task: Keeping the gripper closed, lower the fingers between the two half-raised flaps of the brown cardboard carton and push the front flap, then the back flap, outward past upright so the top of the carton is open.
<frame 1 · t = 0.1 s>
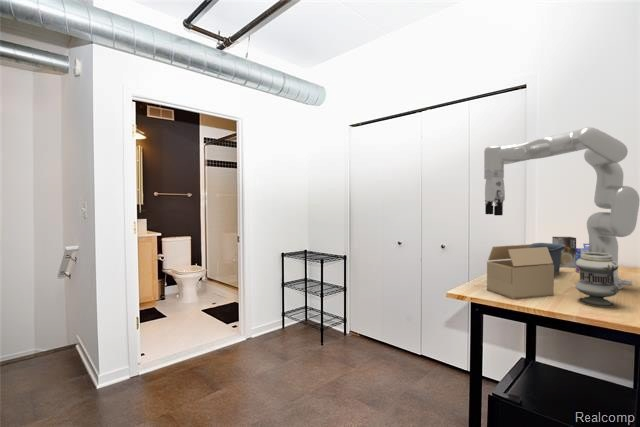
hand: (493, 214, 146), 31 cm above the table, tool pointing down, fingers open, 9 cm apart
ink cartridge box: (588, 273, 169), on the table
apothecary jar: (596, 303, 122), on the table
back flap: (509, 252, 142), point 16 cm above the table, hinge at 65.0°
carton: (519, 292, 137), on the table
front flap: (530, 256, 131), point 16 cm above the table, hinge at 65.0°
coffee box: (563, 266, 186), on the table
storage bin: (541, 274, 169), on the table
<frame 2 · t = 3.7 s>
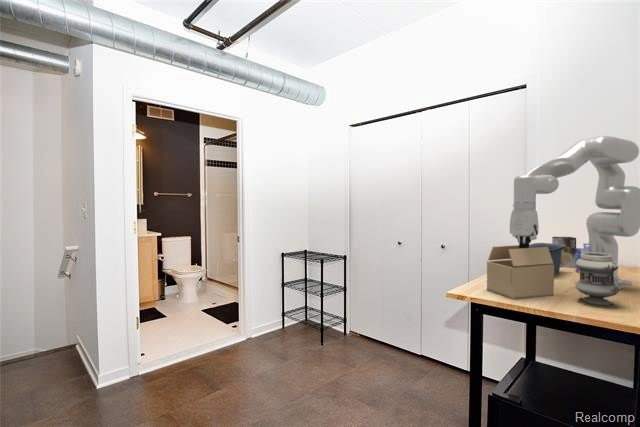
hand: (524, 252, 134), 16 cm above the table, tool pointing down, fingers closed
front flap: (530, 256, 131), point 16 cm above the table, hinge at 68.0°, touching gripper
everything else where it was.
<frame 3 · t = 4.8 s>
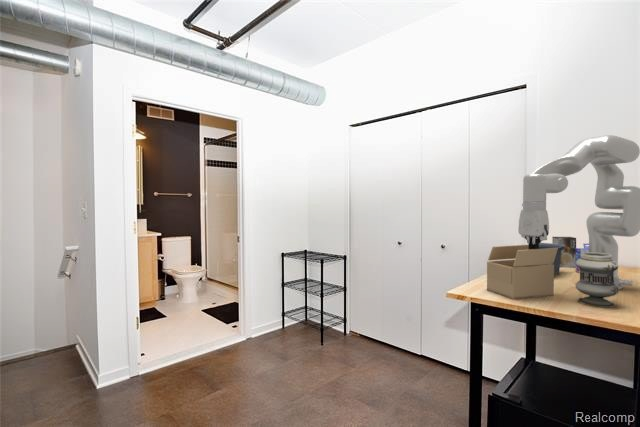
hand: (533, 254, 130), 17 cm above the table, tool pointing down, fingers closed
front flap: (535, 257, 129), point 16 cm above the table, hinge at 107.0°, touching gripper
everything else where it was.
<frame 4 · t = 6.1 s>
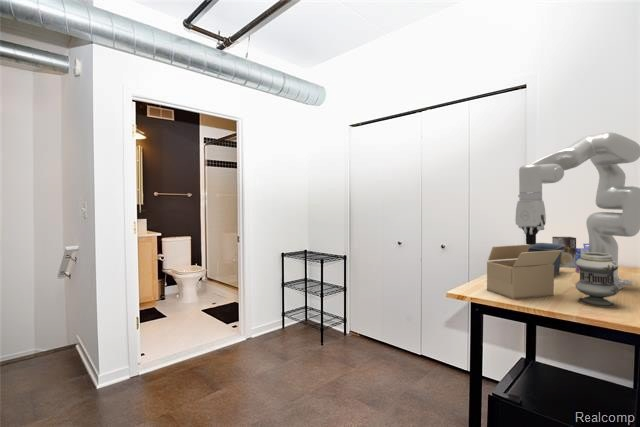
hand: (530, 244, 132), 20 cm above the table, tool pointing down, fingers closed
front flap: (537, 258, 128), point 15 cm above the table, hinge at 121.7°
everything else where it was.
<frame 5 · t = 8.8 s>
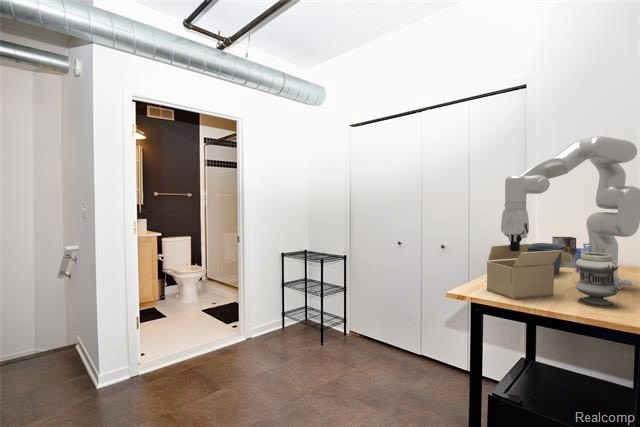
hand: (514, 250, 139), 17 cm above the table, tool pointing down, fingers closed
back flap: (508, 252, 142), point 16 cm above the table, hinge at 69.5°, touching gripper
everything else where it was.
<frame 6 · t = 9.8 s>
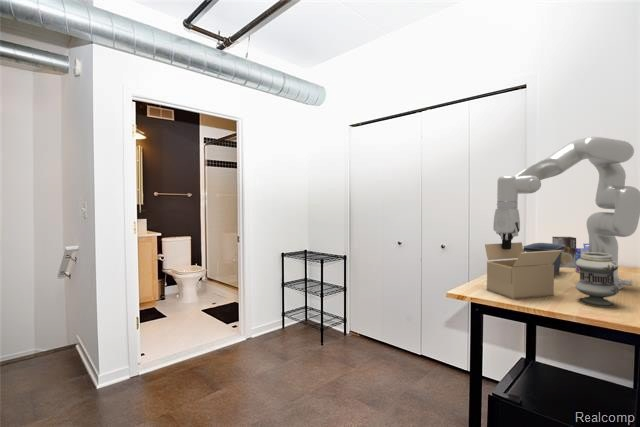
hand: (506, 249, 143), 17 cm above the table, tool pointing down, fingers closed
back flap: (505, 251, 144), point 16 cm above the table, hinge at 106.2°, touching gripper
everything else where it was.
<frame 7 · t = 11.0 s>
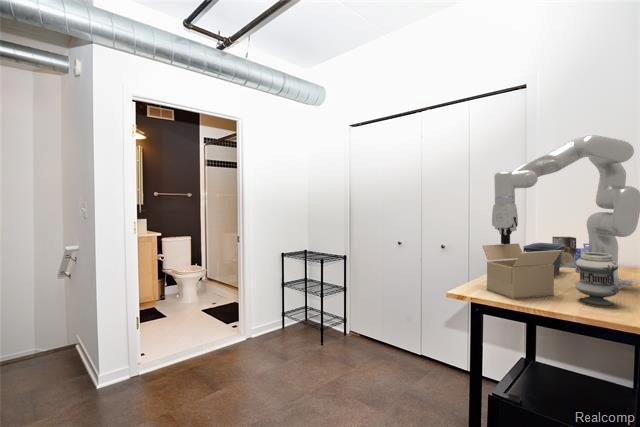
hand: (505, 243, 144), 19 cm above the table, tool pointing down, fingers closed
back flap: (503, 251, 145), point 15 cm above the table, hinge at 121.7°
everything else where it was.
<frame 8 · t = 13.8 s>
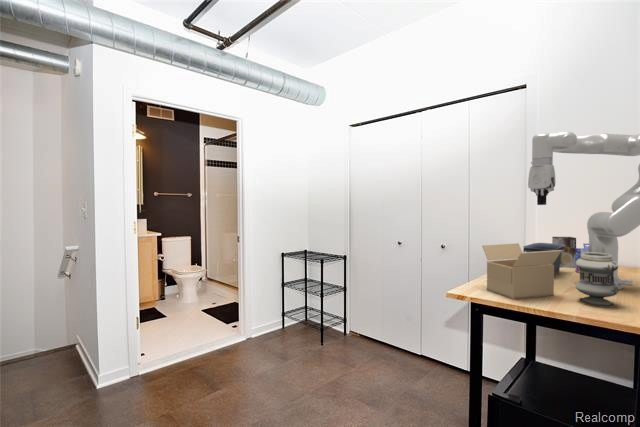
hand: (541, 204, 148), 35 cm above the table, tool pointing down, fingers closed
nothing on the table moved.
at the end: front flap at +122° (first picture: +65°); back flap at +122° (first picture: +65°) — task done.
